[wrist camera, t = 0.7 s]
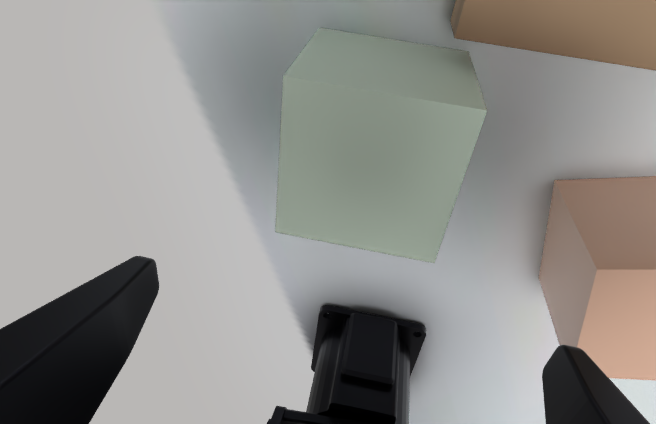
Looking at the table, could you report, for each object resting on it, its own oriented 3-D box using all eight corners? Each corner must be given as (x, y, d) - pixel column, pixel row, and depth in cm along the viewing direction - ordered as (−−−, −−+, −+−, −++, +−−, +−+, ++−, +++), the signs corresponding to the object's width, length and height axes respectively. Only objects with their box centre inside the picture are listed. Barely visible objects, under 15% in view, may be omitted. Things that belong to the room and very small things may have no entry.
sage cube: (430, 178, 21) (434, 263, 16) (307, 156, 21) (275, 232, 17) (468, 50, 17) (487, 110, 13) (319, 27, 18) (282, 75, 13)
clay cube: (668, 277, 22) (738, 384, 17) (538, 276, 23) (569, 376, 19) (708, 173, 19) (809, 269, 14) (554, 179, 20) (596, 269, 15)
